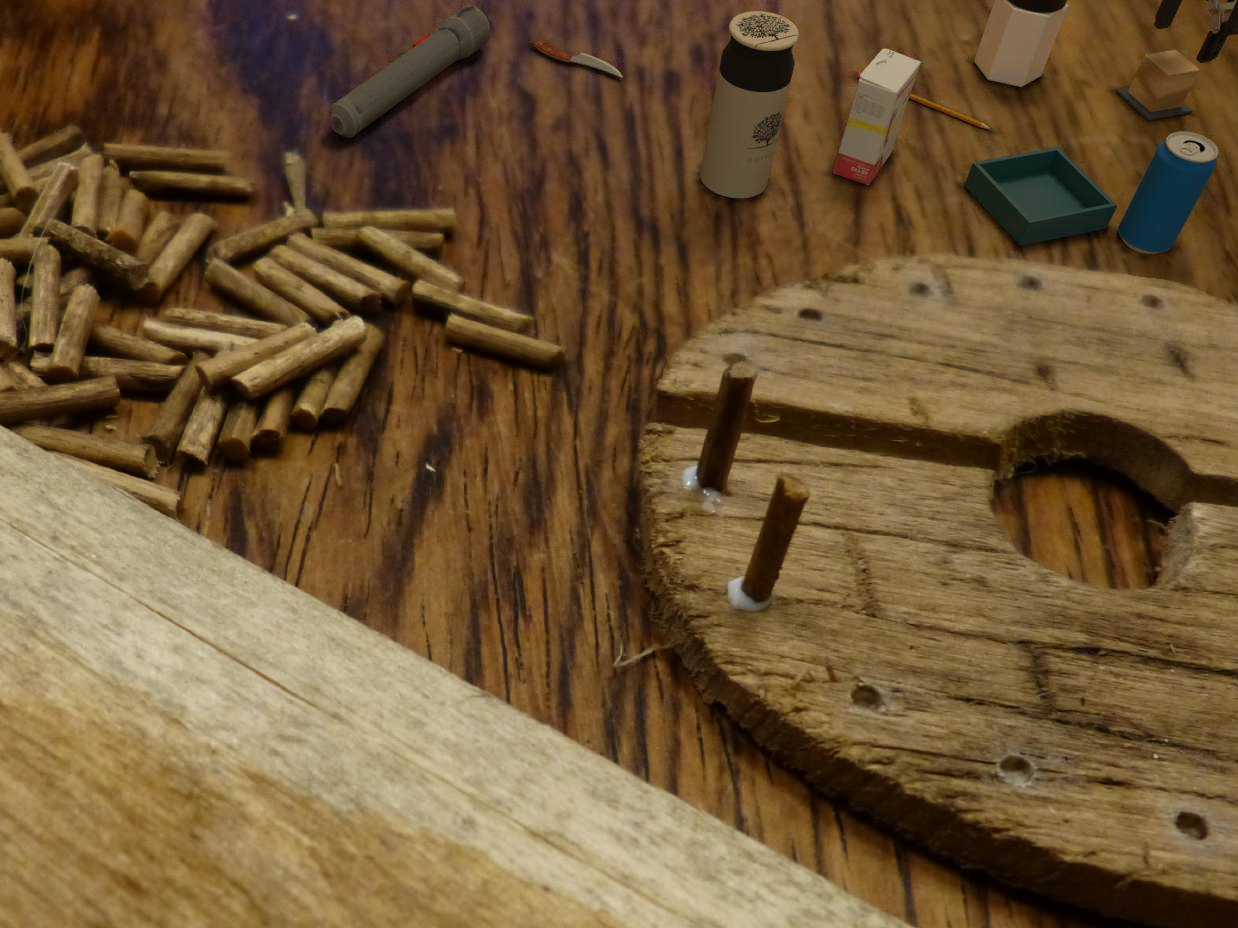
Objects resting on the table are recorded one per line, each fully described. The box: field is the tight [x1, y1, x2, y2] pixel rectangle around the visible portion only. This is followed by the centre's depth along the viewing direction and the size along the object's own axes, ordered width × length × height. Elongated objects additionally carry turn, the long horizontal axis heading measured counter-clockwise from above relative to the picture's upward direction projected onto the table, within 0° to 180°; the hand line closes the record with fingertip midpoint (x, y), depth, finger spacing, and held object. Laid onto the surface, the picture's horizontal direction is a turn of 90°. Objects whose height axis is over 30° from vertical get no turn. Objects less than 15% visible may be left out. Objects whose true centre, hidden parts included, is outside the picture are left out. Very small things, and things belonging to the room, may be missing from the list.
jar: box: [973, 0, 1069, 88], centre depth 163 cm, size 9×8×12 cm
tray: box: [963, 146, 1118, 247], centre depth 149 cm, size 12×12×3 cm
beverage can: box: [1117, 130, 1219, 255], centre depth 143 cm, size 6×6×12 cm
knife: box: [532, 39, 624, 79], centre depth 162 cm, size 13×1×3 cm
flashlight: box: [328, 5, 491, 139], centre depth 154 cm, size 5×28×5 cm
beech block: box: [1128, 49, 1201, 112], centre depth 164 cm, size 5×5×5 cm
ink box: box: [832, 48, 922, 186], centre depth 149 cm, size 9×5×12 cm, turn 151°
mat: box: [1115, 86, 1193, 121], centre depth 166 cm, size 7×7×1 cm
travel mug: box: [700, 10, 800, 199], centre depth 142 cm, size 8×8×18 cm
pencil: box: [857, 72, 994, 130], centre depth 162 cm, size 19×1×1 cm, turn 55°
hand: (1181, 43), depth 159 cm, fingers open, 8 cm apart
